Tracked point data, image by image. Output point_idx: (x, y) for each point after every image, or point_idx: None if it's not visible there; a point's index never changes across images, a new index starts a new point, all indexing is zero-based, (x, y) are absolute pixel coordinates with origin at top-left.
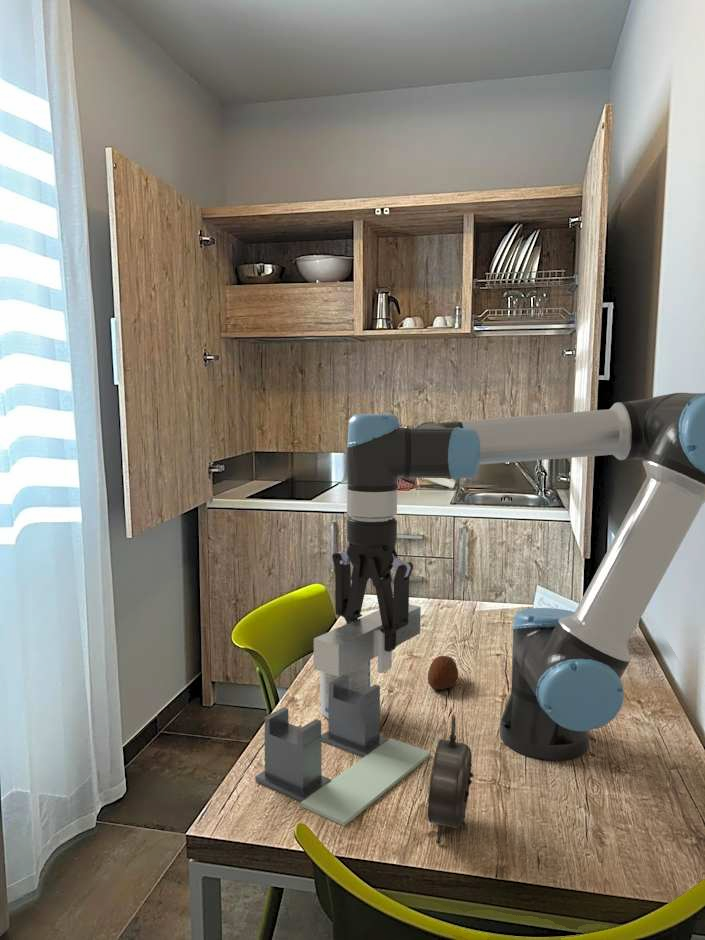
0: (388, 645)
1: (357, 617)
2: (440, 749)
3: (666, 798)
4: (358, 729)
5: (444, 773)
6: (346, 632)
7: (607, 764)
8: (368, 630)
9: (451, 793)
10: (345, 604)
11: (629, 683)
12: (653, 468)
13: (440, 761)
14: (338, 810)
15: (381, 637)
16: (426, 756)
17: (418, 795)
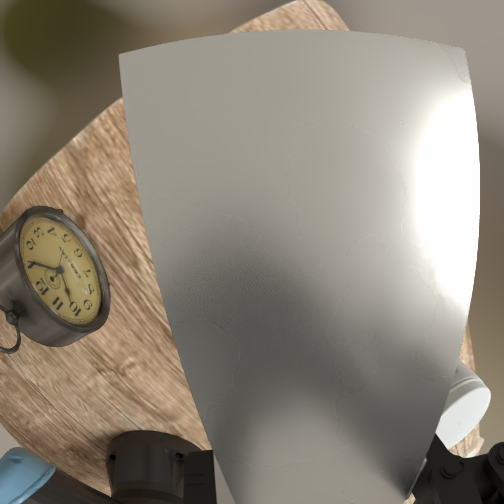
0: (196, 472)
1: (417, 498)
2: (20, 282)
3: (23, 431)
4: None
5: (3, 246)
6: (351, 388)
7: (84, 453)
8: (244, 496)
9: (2, 234)
10: (493, 497)
11: None
12: None
13: (10, 259)
14: None
15: (220, 490)
16: None
17: (156, 278)
